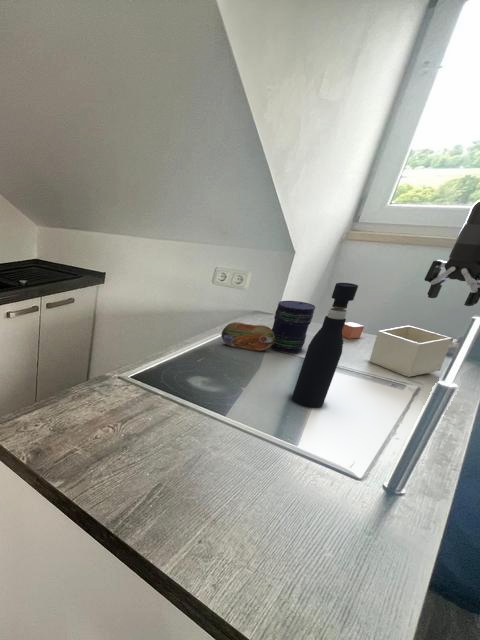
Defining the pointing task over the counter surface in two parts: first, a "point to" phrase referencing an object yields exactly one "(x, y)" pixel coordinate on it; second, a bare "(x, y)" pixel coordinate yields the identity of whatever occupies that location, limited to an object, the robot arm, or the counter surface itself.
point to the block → (352, 330)
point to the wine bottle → (324, 351)
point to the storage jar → (291, 325)
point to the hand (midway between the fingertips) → (449, 301)
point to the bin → (410, 350)
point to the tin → (248, 336)
